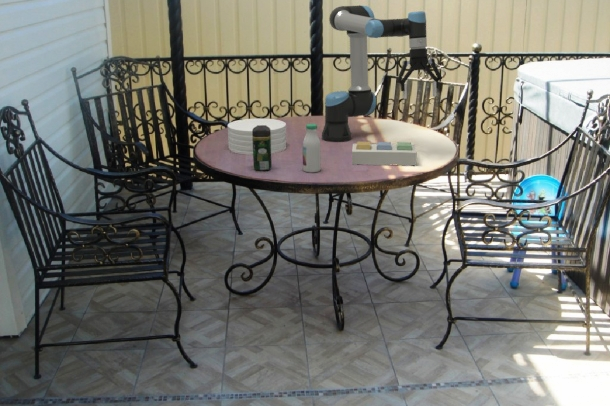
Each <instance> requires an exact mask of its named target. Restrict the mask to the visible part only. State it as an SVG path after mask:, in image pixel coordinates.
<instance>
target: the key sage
mask: <svg viewBox="0 0 610 406" xmlns="http://www.w3.org/2000/svg"><path fill="white" fill-rule="evenodd" d="M396 144H397V150H412V145H413V144H412V142H405V141H403V142H402V141H399V142H398V141H397V143H396Z"/></svg>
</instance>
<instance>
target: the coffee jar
mask: <svg viewBox="0 0 610 406" xmlns="http://www.w3.org/2000/svg"><path fill="white" fill-rule="evenodd" d="M270 131H271V130H270V128H269V127H267V126H266V125H257V126H256V127H254V128H253V130H252V141H253V155H252V157H253V158H252V159H253V169H254V170H255V171H260V172H264V171H270V170H271V169H272V166H273V165H272V154H271V133H270Z"/></svg>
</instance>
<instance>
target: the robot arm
mask: <svg viewBox="0 0 610 406" xmlns="http://www.w3.org/2000/svg"><path fill="white" fill-rule="evenodd" d="M426 15H427V14H426V12H425V11H420V10H419V11H412V12H411V11H410V12H409V13H408V14H407V17H406V18H391V19H389V18H388V19H379V18H376V17H375V14H374V12H373V10H372V8H371V7H370V6H368V5H344V6H343V5H340V6H338V7H336V8H334V9H333V10H332V11H331V12H330V14H329V18H328V19H329V24H330V26H331V28H333V29H334V30H336V31H340V32H343V31H344V32H346V35H347V37H348V38H349V46H350V47H349V53H350V55H349V56H350V87H349V88H348V91H346V90H340V91H333V92H330V93H328V94H326V95H325V100H324V119H325V121H324V122H325V123H324V125H323V129H322V132H321V140H322V141H326V142H331V143H332V142H334V143H341V142H342V143H343V142H347V141H351V140H352V131H351V128H350V126H349V125H350V124H349V118H351V117H360V116H362V117H363V116H367V115H370V114H373V112H374V111H375V109H376V106H377V98H376V95H375V93H374V92H373V91H372V88H371V87H370V86H369V74H368V73H369V70H368V69H369V67H368V65H369V63H368V62H369V61H368V38H370V39H379V38H392V37H393V38H394V37H396V38H397V37H399V38H402V37H406V36H408V41H409V42H408V44H409V45H408V46H409V47H408V48H409V60H403V61H402V66H401V68H400V71H399V74H398V76H397V79H396V83H398V84H399V85H400V90H401V92H403V93H402V96H403V98H402V99H403V100H407V99H408V94H407V93H408V90H407V83H406V82H407V80H408V79H409V78H410V76H411V75H412V73H413V72H414V71H425V72H426V73H427V74H428V75H429V76H430V77H431V79H432V80H433V81H432V97H437V89H439V81H440V80H442V79H443V76H442V75H441V72H440V70H439V68H438V67H437V64H436V60H435V58H430V59H428V48H426V47H427V46H428V43H427V41H428V40H427V16H426ZM428 64H429V65H430V66H431V69H432V70H433V71H432V70H431V69H430V67H428ZM409 65H410V68H409V69H408V70H407V72H406V73H405V71H406V69H407V67H409ZM404 74H405V75H404ZM350 139H351V140H350Z"/></svg>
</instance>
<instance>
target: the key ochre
mask: <svg viewBox="0 0 610 406" xmlns="http://www.w3.org/2000/svg"><path fill="white" fill-rule="evenodd" d="M356 144H357V149H359V150H371V144H372V142H371V141H357V142H356Z"/></svg>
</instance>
